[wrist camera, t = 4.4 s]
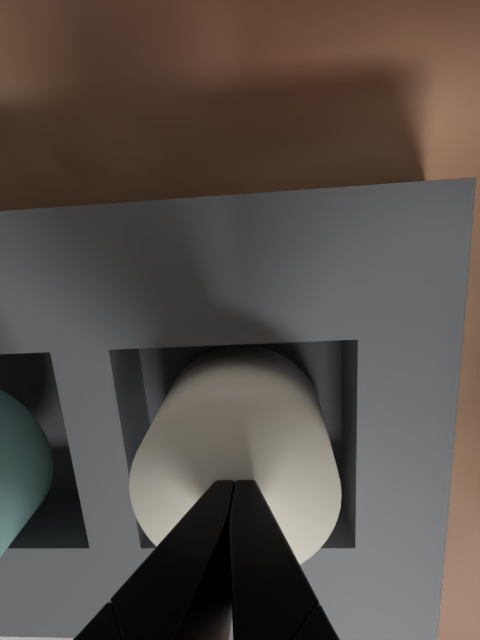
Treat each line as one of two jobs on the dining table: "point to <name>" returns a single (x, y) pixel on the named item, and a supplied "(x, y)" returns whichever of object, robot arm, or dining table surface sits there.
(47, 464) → the teal button
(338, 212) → the panel
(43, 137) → the dining table surface
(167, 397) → the ivory button
